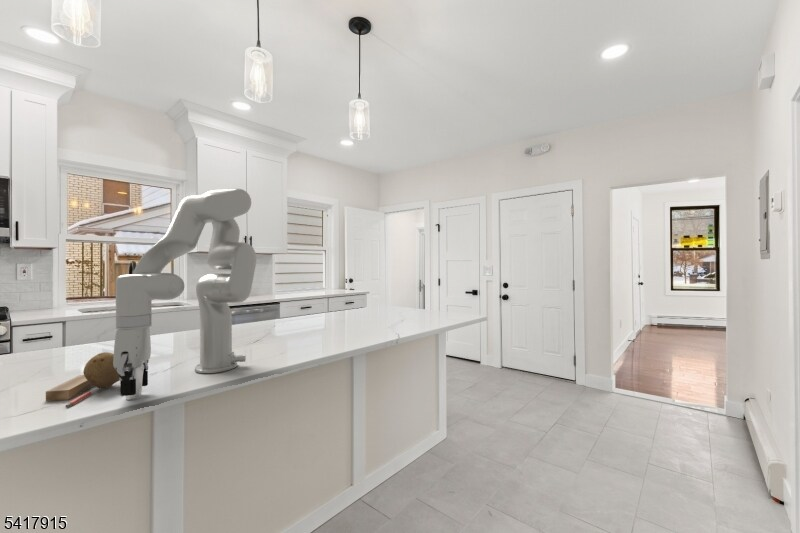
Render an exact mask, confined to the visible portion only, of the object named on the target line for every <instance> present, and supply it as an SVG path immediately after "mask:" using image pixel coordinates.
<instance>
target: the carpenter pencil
mask: <svg viewBox="0 0 800 533" xmlns="http://www.w3.org/2000/svg"><path fill="white" fill-rule="evenodd" d="M91 395H92V391H87V392H84V393H83V394H82V395H80V396H78V397H76V398H74V399H73V400H70V401H69V402H68V403H67V404H65V406H64V407H65V408H67V409H68V408H70V407H72V406H74V405H76V404H77V403H79V402H81V401H83V400H84V399H86V398H88V397H90V396H91Z"/></svg>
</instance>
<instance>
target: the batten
mask: <svg viewBox="0 0 800 533" xmlns="http://www.w3.org/2000/svg"><path fill="white" fill-rule="evenodd" d="M93 386H94V385H93V384H91V383H90V382H89V381H88V380H87V379H86V378H85V376H84V374H79V375H77V376H75V377H74V378H71V379H69V380H67V381H65V382H62V383H61V384H58V385H57V386H54V387H53V388H50V389H47V390H46V391H45V402H55V401H66V400H67V401H69V400H71V399H73V398H74V397H76V396H78V395H80V394H82V393H84V392H85V391H87V390H89V389H90V388H93ZM94 387H95V386H94Z"/></svg>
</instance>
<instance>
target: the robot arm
mask: <svg viewBox="0 0 800 533" xmlns="http://www.w3.org/2000/svg"><path fill="white" fill-rule="evenodd" d="M251 207H252V198H251V196H250V194H249V193H248V192H247V191H246V190H245V189H243V188H228V189H214V190H209V191H207V192H206V191H205V193H203V194H201V195H200V194H199V195H197V194H196V195H189V196H186V197H184V198H183V199H182V200H181V201H180V202H179V203H178V206H177V208H176V210H175V212H174V215H173V216H172V219H171V222H170V223H169V226H168V228H167V230H166V232H165V234H164V235H163V236H162V238H160V240H158V241H157V242H156V243H154V244H153V245H152V246H151V248H149V249H148V250H147V251H146V252H145V253H144V254H143V255H142V256H141V258H140V259H139V260H138V262H137V264H136V265H135V268H134V270H133V272H132V274H122V275H118V276H117V277H116V279H115V329H116V332H115V338H114V346H113V354H114V362H113V366H114V368H115V369H117V372H118V375H119V376H120V378H119V380H120V381H119V384H120V385H119V386H120V387H119V388H120V389H119V390H120V395H119V396H121V397H126V396H129V395H135V394H136V379H134V375H135V369H136V367H137V366H139V365H141V363H142V361H143V360H144V362H143V365H144V371H143V380H142V387H147V386H148V385H149V377H148V376H149V373H148V372H149V371H148V370H149V361H150V359H151V354H152V353H151V352H152V348H151V347H152V345H151V344H152V343H151V342H152V341H151V331H150V327H152V325H153V324H152V322H153V321H152V320H153V318H152V313H153V312H152V311H153V310H152V301H153V300H157V301H158V300H160V301H161V300H162V301H167V300H169V301H170V300H173V299H176V298H178V297H179V296H181V295H182V294H183V293H184V290H185V282H184V280H183V279H182V277H181V276H179V275H177V274H175V273H171V272H170V273H169V272H162V271H163V270H164V268H165V267H166V266H167V265H169V264H170V263H171V262H172V261H174V260H175V259H177V258H180V257H182V256H184V255H186V254H188V253H190V252H191V251H193V250H194V249H195V248H196V247H197V245H198V241H199V240H200V237H201V234H202V233H203V230H204V227H205V226H206V224H208V223H211V225H212V233H211V238H210V244H209V248H208V254H207V264H208V266H209V268H211V269H212V270H216V271H226V272H227V271H229V272H230V273H208V274H205V275H203V276H202V277H200V278H199V279H198V281H197V283H196V285H195V293H196V297H197V302H198V308H199V364H196V365H195V366H194V371H195V372H196V373H198V374H214V373H223V372H227V371H230V370H233V369H235V368H236V367H237V366H238V362H239V363H244V362H246V360H247V358H246V355H243V354H240V355H236V354H235V351H233V339H232V338H233V334H232V333H233V332H232V331H233V328H232V326H233V322H232V321H233V320H232V319H233V317H232V311H231V308H230V306H229V304H238V303H243V302H245V301H246V300H248V299H249V297H250V294H251V293H252V292H251V291H252V287H253V282H254V277H255V276H254V275H255V272H256V271H255V270H256V267H257V266H256V264H257V255H256V251H255V249H254V247H253V246H252V245H251V244H250V243H247V242H240V241H239V240H240V233H241V231H240V227H239V224H238V223H237V221H236V219H235V218H237V217H240V216H243V215H245V214H247V213H248V212H249V210H250V209H251ZM126 365H131V366H132V367H126ZM126 370H131V373H129V371H126Z"/></svg>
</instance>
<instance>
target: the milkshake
mask: <svg viewBox="0 0 800 533" xmlns="http://www.w3.org/2000/svg"><path fill="white" fill-rule="evenodd" d="M143 362H144V360H143V361H142V363H141V365H139V366H137V367H136V369H135V375H134V379H136V394H135V395H129V396H125V400H127V401H133V400H137V399H139V398H141V397H142V390H143V386H142V380H143V371H144V365H143ZM126 367H132V366H131V365H126ZM126 371H129V373H131V370H126Z"/></svg>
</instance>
